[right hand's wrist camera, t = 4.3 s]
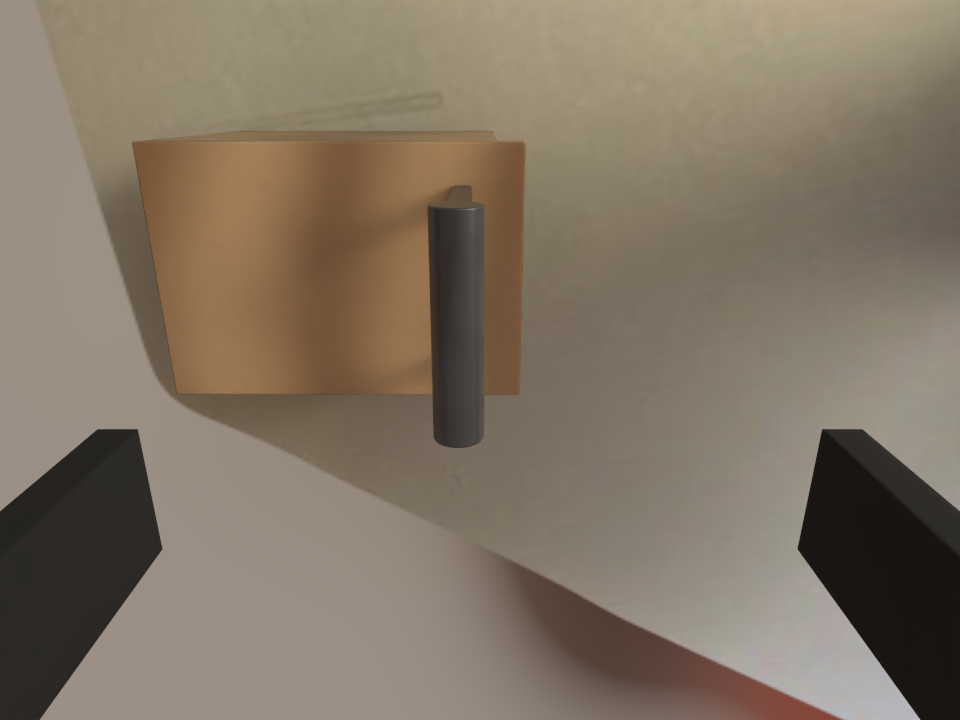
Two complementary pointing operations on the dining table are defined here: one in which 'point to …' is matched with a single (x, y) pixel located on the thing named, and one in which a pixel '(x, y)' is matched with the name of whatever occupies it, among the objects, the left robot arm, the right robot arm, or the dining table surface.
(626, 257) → the dining table surface
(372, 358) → the wooden door with handle
